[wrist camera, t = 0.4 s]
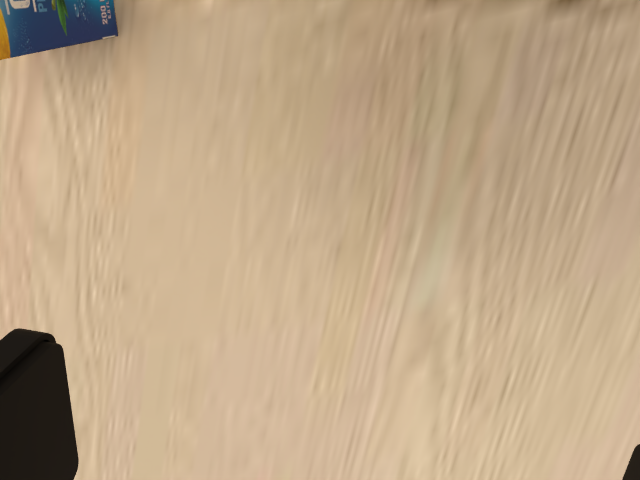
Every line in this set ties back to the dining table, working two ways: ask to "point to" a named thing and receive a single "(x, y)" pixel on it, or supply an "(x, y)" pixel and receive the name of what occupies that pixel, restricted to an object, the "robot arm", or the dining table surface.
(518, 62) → the dining table surface
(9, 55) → the beverage box
